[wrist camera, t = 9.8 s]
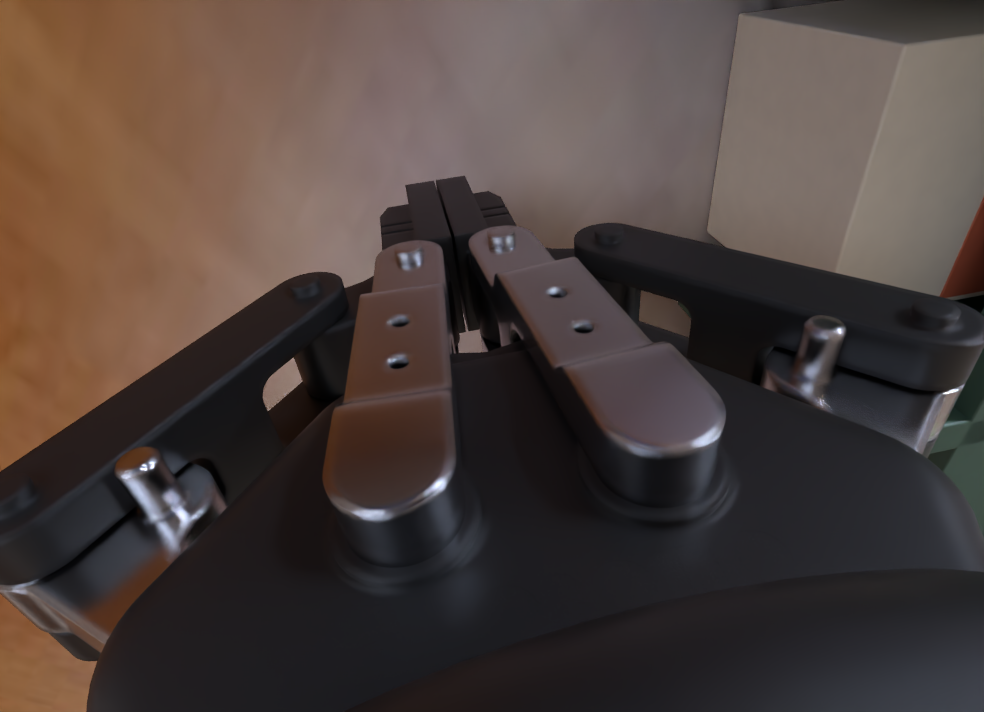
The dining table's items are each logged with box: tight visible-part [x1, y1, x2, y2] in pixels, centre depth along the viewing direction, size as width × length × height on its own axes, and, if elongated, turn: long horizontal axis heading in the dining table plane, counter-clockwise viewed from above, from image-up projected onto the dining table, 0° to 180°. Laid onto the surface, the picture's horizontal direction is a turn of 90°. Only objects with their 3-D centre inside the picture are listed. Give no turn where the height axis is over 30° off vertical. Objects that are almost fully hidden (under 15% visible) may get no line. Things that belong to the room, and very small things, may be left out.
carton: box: [707, 0, 984, 300], centre depth 15 cm, size 6×9×6 cm
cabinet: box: [678, 295, 984, 537], centre depth 18 cm, size 24×12×8 cm, turn 5°
